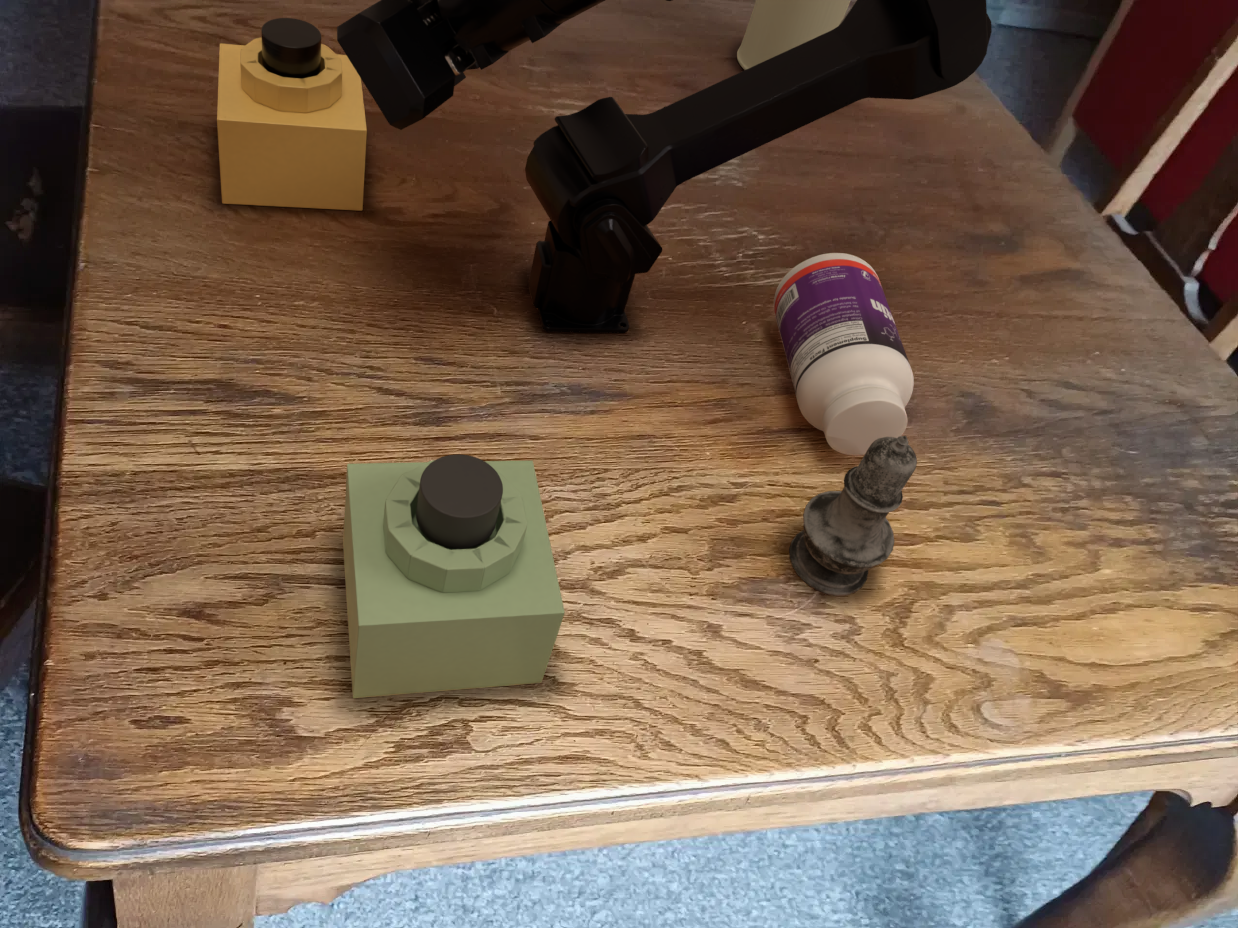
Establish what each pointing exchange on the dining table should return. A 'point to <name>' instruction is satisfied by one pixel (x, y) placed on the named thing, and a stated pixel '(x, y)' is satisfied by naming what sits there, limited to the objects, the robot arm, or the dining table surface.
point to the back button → (291, 48)
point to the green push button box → (445, 588)
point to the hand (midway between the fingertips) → (372, 69)
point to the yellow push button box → (290, 132)
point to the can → (786, 26)
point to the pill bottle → (843, 351)
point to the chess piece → (853, 520)
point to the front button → (458, 501)
